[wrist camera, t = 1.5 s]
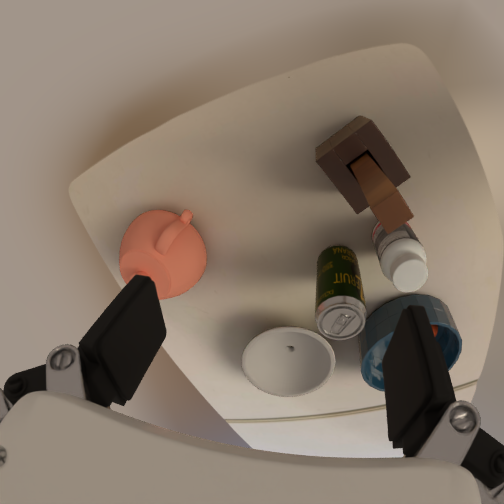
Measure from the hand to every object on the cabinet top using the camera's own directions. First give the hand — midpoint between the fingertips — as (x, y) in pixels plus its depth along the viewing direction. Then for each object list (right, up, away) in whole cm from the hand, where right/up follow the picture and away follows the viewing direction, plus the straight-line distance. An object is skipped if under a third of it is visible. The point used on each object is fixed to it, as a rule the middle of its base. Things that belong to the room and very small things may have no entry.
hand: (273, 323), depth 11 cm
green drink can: (+10, +1, +28) cm, 30 cm away
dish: (+6, -13, +37) cm, 40 cm away
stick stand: (+11, +14, +21) cm, 27 cm away
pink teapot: (-12, +4, +31) cm, 34 cm away
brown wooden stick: (+11, +14, +21) cm, 27 cm away
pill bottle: (+17, +5, +24) cm, 30 cm away
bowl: (+24, -10, +31) cm, 41 cm away
